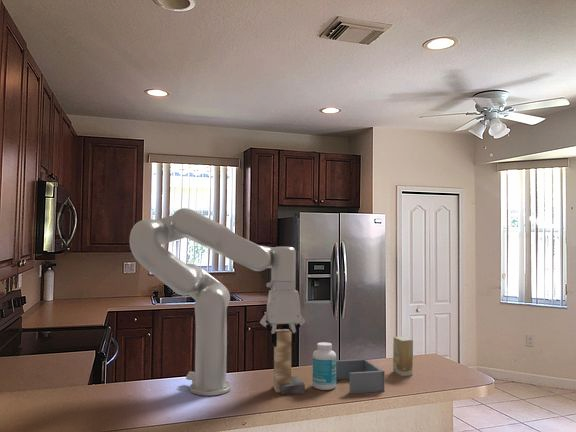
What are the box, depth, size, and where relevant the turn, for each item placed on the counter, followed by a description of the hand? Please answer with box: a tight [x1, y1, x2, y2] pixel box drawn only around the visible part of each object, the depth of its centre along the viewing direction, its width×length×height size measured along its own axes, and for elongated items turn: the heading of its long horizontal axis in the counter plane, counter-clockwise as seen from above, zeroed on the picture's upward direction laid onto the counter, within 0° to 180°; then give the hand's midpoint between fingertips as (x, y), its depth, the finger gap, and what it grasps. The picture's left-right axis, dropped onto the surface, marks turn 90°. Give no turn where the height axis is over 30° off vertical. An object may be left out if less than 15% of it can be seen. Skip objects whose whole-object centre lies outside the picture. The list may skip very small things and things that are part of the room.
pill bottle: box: [312, 342, 337, 391], centre depth 148 cm, size 8×7×14 cm
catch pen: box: [336, 358, 385, 394], centre depth 150 cm, size 11×15×6 cm
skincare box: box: [392, 335, 414, 377], centre depth 163 cm, size 6×4×12 cm
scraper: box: [273, 328, 306, 396], centre depth 146 cm, size 8×9×18 cm
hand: (282, 344), depth 145 cm, fingers closed on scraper, 4 cm apart
